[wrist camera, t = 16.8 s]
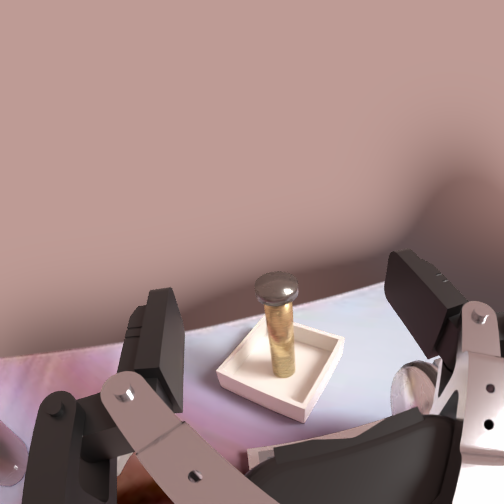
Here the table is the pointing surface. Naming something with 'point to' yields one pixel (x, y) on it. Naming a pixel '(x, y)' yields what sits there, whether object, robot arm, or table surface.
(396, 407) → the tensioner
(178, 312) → the robot arm
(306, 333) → the parts tray
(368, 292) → the table surface
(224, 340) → the table surface
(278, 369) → the lock pin
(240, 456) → the table surface
